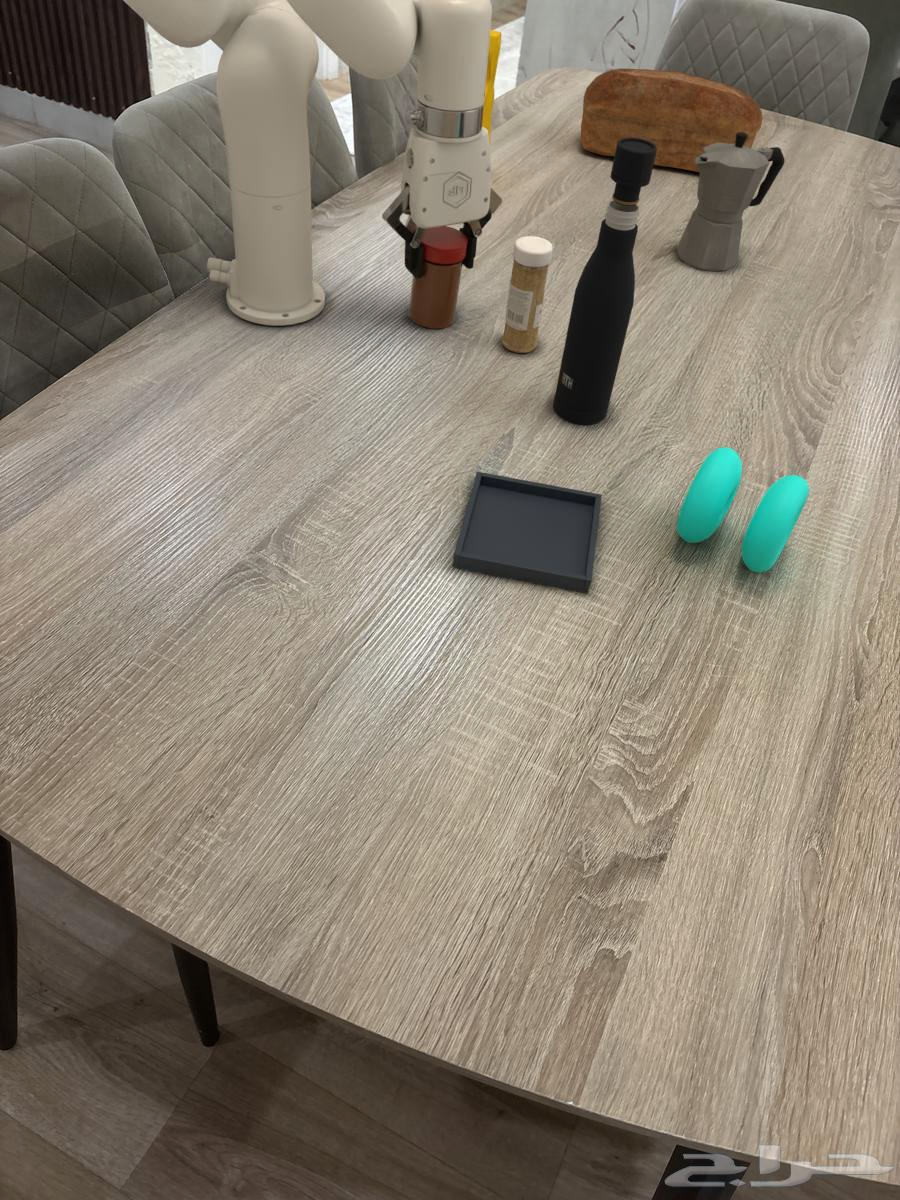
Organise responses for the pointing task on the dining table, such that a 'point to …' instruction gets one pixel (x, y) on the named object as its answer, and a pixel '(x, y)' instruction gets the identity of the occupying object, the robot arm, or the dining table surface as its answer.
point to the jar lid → (444, 245)
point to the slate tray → (529, 532)
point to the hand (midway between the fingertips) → (439, 267)
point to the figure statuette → (491, 78)
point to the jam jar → (435, 295)
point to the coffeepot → (725, 201)
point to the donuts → (714, 500)
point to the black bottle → (604, 295)
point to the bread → (665, 114)
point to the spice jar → (526, 293)
